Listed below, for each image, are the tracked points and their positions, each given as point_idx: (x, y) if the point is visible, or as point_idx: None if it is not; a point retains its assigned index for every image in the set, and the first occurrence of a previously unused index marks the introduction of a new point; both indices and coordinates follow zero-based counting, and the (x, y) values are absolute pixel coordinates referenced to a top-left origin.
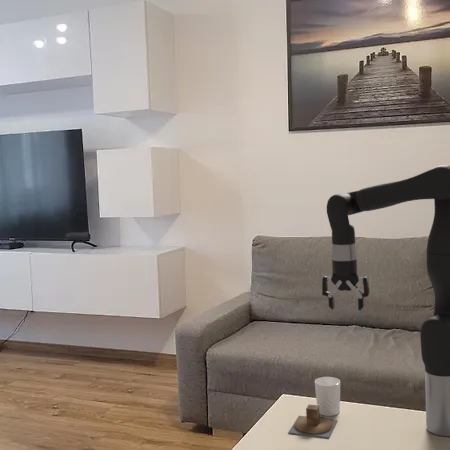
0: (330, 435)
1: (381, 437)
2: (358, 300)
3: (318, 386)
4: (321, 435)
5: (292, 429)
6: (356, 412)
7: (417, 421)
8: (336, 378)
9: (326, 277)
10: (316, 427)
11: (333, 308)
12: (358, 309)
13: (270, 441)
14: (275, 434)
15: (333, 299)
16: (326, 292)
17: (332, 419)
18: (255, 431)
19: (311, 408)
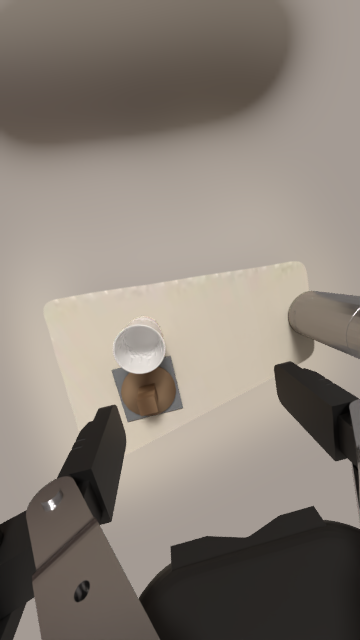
0: (180, 399)
1: (241, 372)
2: (327, 447)
3: (132, 370)
4: (171, 408)
5: (128, 412)
6: (183, 314)
7: (273, 303)
8: (149, 327)
9: None
10: (158, 400)
11: (122, 430)
12: (282, 403)
13: None
14: None
15: (106, 474)
16: (14, 606)
17: (163, 359)
18: None
19: (148, 411)
